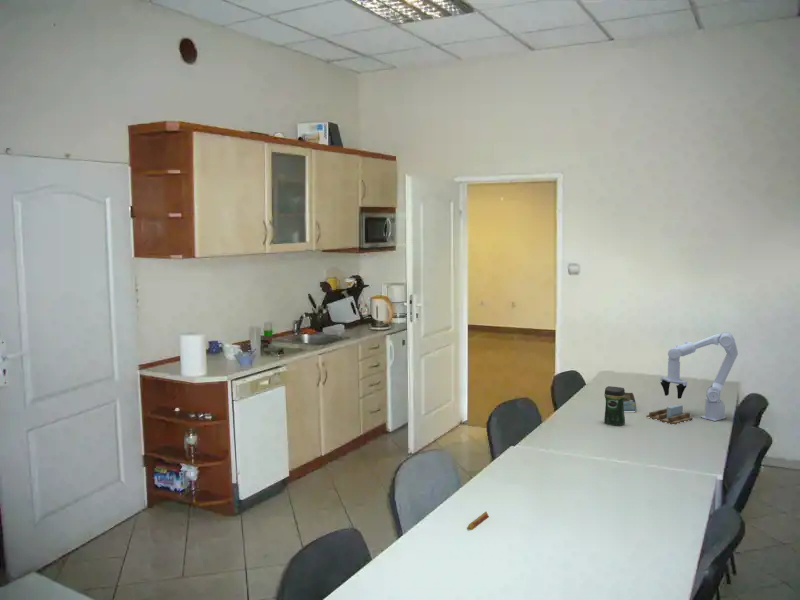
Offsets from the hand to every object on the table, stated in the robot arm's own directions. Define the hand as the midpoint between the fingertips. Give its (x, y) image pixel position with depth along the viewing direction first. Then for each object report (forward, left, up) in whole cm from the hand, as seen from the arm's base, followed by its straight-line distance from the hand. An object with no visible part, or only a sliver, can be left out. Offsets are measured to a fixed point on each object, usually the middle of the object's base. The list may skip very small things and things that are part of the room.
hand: (673, 396), depth 354 cm
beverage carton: (+8, -23, -10) cm, 26 cm away
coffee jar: (+37, -6, -10) cm, 38 cm away
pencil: (+163, +46, -10) cm, 170 cm away
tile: (+7, +7, -8) cm, 13 cm away
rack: (+8, +4, -9) cm, 13 cm away
